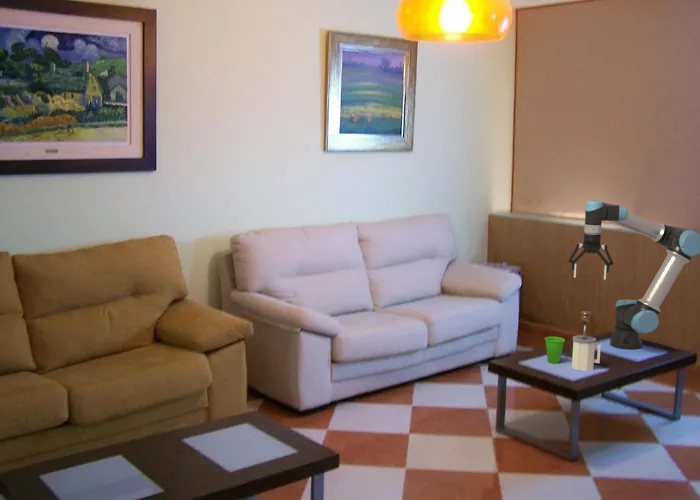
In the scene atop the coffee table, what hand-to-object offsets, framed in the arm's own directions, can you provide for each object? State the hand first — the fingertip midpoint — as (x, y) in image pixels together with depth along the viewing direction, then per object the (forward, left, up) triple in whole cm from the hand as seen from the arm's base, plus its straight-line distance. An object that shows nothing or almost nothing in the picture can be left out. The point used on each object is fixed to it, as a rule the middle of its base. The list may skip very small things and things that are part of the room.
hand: (589, 278), depth 385 cm
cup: (+24, +4, -37) cm, 44 cm away
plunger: (+18, +16, -33) cm, 41 cm away
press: (+17, +17, -37) cm, 44 cm away
